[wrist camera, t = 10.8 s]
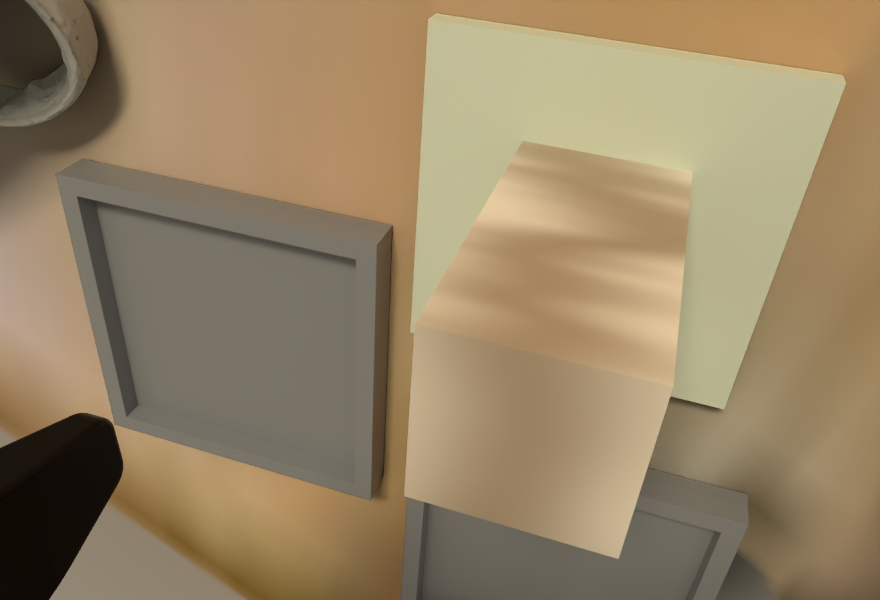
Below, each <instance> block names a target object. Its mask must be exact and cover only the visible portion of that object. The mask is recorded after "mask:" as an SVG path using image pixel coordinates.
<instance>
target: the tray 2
mask: <svg viewBox="0 0 880 600" xmlns="http://www.w3.org/2000/svg"><path fill="white" fill-rule="evenodd" d="M748 525H749V521H748V495H747V494H744V493H740V492H736V491H732V490H729V489H725V488H721V487H717V486H714V485H710V484H706V483H702V482H698V481H695V480H691V479H687V478H683V477H680V476H676V475H672V474H668V473H665V472H661V471H657V470H653V469H650V468H647V471H646V474H645V478H644V481H643V484H642V487H641V490H640V493H639V496H638V500H637V503H636V506H635V509H634V512H633V515H632V518H631V521H630V525H629V528H628V531H627V534H626V537H625V540H624V543H623V547H622V550H621V553H620V556H619V559H617V558H613V557H610V556H606V555H603V554H600V553H596V552H593V551H589V550H586V549H583V548H579V547H576V546H572V545H569V544H566V543H562V542H559V541H555V540H552V539H549V538H545V537H542V536H538V535H535V534H532V533H528V532H525V531H521V530H518V529H515V528H511V527H508V526H504V525H501V524H498V523H494V522H491V521H487V520H484V519H481V518H477V517H474V516H470V515H467V514H464V513H460V512H457V511H453V510H450V509H447V508H443V507H440V506H436V505H433V504H430V503H426V502H423V501H419V500H416V499H413V498H409V497H407V508H406V523H405V539H404V555H403V571H402V586H401V600H715V599H716V596H717V594H718V592H719V590H720V588H721V585H722V583H723V581H724V578H725V576H726V574H727V572H728V570H729V568H730V565H731V563H732V561H733V558H734V557H735V554H736V552H737V550H738V548H739V545H740V543H741V541H742V539H743V537H744V534H745V532H746V530H747V528H748Z"/></svg>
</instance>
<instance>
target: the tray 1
mask: <svg viewBox="0 0 880 600" xmlns="http://www.w3.org/2000/svg"><path fill="white" fill-rule="evenodd" d="M56 178H57V183H58V187H59V191H60V195H61V199H62V204H63V208H64V212H65V216H66V221H67V225H68V229H69V233H70V237H71V242H72V246H73V250H74V254H75V258H76V263H77V267H78V271H79V275H80V279H81V284H82V288H83V292H84V296H85V301H86V305H87V309H88V313H89V317H90V322H91V326H92V330H93V334H94V338H95V343H96V347H97V351H98V355H99V359H100V364H101V368H102V372H103V376H104V380H105V385H106V389H107V393H108V397H109V402H110V406H111V410H112V414H113V418H114V423H115V425H118V426H121V427H125V428H128V429H131V430H135V431H138V432H141V433H145V434H148V435H152V436H155V437H158V438H162V439H165V440H168V441H172V442H175V443H178V444H182V445H185V446H189V447H192V448H195V449H199V450H202V451H205V452H209V453H212V454H215V455H219V456H222V457H226V458H229V459H232V460H236V461H239V462H242V463H246V464H249V465H252V466H256V467H259V468H263V469H266V470H269V471H273V472H276V473H279V474H283V475H286V476H289V477H293V478H296V479H300V480H303V481H306V482H310V483H313V484H316V485H320V486H323V487H326V488H330V489H333V490H337V491H340V492H343V493H347V494H350V495H353V496H357V497H360V498H363V499H367V500H370V501H371V499H372V497H373V495H374V493H375V491H376V489H377V487H378V485H379V483H380V481H381V479H382V477H383V466H384V438H385V411H386V383H387V356H388V328H389V301H390V273H391V246H392V225H388V224H383V223H379V222H374V221H369V220H365V219H360V218H355V217H351V216H346V215H342V214H337V213H332V212H328V211H323V210H318V209H314V208H309V207H304V206H300V205H295V204H290V203H286V202H281V201H276V200H272V199H267V198H263V197H258V196H253V195H249V194H244V193H239V192H235V191H230V190H225V189H221V188H216V187H211V186H207V185H202V184H197V183H193V182H188V181H184V180H179V179H174V178H170V177H165V176H160V175H156V174H151V173H146V172H142V171H137V170H132V169H128V168H123V167H119V166H114V165H109V164H105V163H100V162H95V161H91V160H86V159H81V160H79V161H78V162H76V163H74V164H72V165H71V166H69V167H67V168H65V169H64V170H62V171H60V172H58V173H56Z"/></svg>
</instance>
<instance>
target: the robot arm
mask: <svg viewBox="0 0 880 600" xmlns="http://www.w3.org/2000/svg"><path fill="white" fill-rule="evenodd" d="M122 472H123V459H122V455H121V452H120V448H119V444H118V441H117V437H116V433H115V429H114V426H113V424H112V423H111V422H110V421H109V420H108V419H106V418H103V417H99V416H95V415H92V414H88V413H78V414H74V415H72V416H69V417H67V418H65V419H63V420H61V421H58V422H56V423H54V424H52V425H50V426H47V427H45V428H43V429H41V430H39V431H36V432H34V433H32V434H30V435H28V436H25V437H23V438H21V439H19V440H17V441H14V442H12V443H10V444H8V445H6V446H3V447H1V448H0V600H49V599H50V597H51V596H52V594H53V593H54V591H55V590H56V589H57V587H58V586H59V584H60V583H61V581H62V579H63V578H64V576H65V574H66V573H67V571H68V570H69V568H70V566H71V565H72V563H73V561H74V559H75V558H76V556H77V554H78V552H79V551H80V549H81V547H82V545H83V544H84V542H85V540H86V539H87V536H88V535H89V533H90V531H91V530H92V528H93V526H94V524H95V523H96V521H97V519H98V518H99V516H100V514H101V512H102V511H103V509H104V507H105V506H106V504H107V502H108V500H109V499H110V497H111V495H112V493H113V492H114V490H115V488H116V486H117V485H118V483H119V481H120V478H121V476H122Z"/></svg>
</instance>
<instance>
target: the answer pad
mask: <svg viewBox="0 0 880 600" xmlns="http://www.w3.org/2000/svg"><path fill="white" fill-rule="evenodd" d="M845 85H846V82H845V80H844V77H843V75H840V74H833V73H827V72H820V71H814V70H807V69H800V68H794V67H787V66H781V65H774V64H767V63H761V62H754V61H748V60H741V59H734V58H728V57H721V56H715V55H708V54H701V53H695V52H688V51H682V50H675V49H668V48H662V47H655V46H649V45H642V44H635V43H629V42H622V41H616V40H609V39H602V38H596V37H589V36H583V35H576V34H569V33H563V32H556V31H550V30H543V29H536V28H530V27H523V26H517V25H510V24H503V23H497V22H490V21H484V20H477V19H470V18H464V17H457V16H450V15H444V14H437V13H436V14H435V15H433V16H432V17H431V18H429V19H428V32H427V50H426V68H425V85H424V103H423V120H422V138H421V156H420V173H419V191H418V208H417V226H416V243H415V261H414V279H413V296H412V314H411V331H410V333H414V330H415V323H416V321H417V319H418V318H419V316H420V314H421V313H422V311H423V309H424V308H425V306H426V304H427V303H428V301H429V299H430V297H431V296H432V294H433V292H434V291H435V289H436V287H437V286H438V284H439V282H440V280H441V279H442V277H443V275H444V274H445V272H446V270H447V269H448V267H449V265H450V263H451V262H452V260H453V258H454V257H455V255H456V253H457V252H458V250H459V248H460V247H461V245H462V243H463V241H464V240H465V238H466V236H467V235H468V233H469V231H470V230H471V228H472V226H473V224H474V223H475V221H476V219H477V218H478V216H479V214H480V213H481V211H482V209H483V208H484V206H485V204H486V202H487V201H488V199H489V197H490V196H491V194H492V192H493V191H494V189H495V187H496V185H497V184H498V182H499V180H500V179H501V177H502V175H503V174H504V172H505V170H506V169H507V167H508V165H509V163H510V162H511V160H512V158H513V157H514V155H515V153H516V152H517V150H518V148H519V146H520V145H521V143H522V141H526V142H532V143H537V144H543V145H548V146H553V147H559V148H564V149H570V150H575V151H580V152H586V153H591V154H597V155H602V156H607V157H613V158H618V159H624V160H629V161H634V162H640V163H645V164H651V165H656V166H661V167H667V168H672V169H678V170H683V171H689V172H693V174H692V186H691V197H690V208H689V219H688V230H687V241H686V252H685V263H684V275H683V286H682V297H681V308H680V319H679V330H678V341H677V353H676V364H675V375H674V386H673V390H672V393H671V397H675V398H679V399H683V400H688V401H692V402H696V403H700V404H704V405H708V406H712V407H716V408H720V409H724V408H725V405H726V403H727V400H728V397H729V395H730V392H731V389H732V387H733V384H734V381H735V379H736V376H737V373H738V371H739V368H740V365H741V363H742V360H743V357H744V355H745V352H746V349H747V347H748V344H749V341H750V339H751V336H752V333H753V331H754V328H755V325H756V323H757V320H758V317H759V315H760V312H761V309H762V307H763V304H764V301H765V299H766V296H767V293H768V291H769V288H770V285H771V283H772V280H773V277H774V275H775V272H776V269H777V267H778V264H779V261H780V259H781V256H782V253H783V251H784V248H785V245H786V243H787V240H788V237H789V235H790V232H791V229H792V227H793V224H794V221H795V219H796V216H797V213H798V211H799V208H800V205H801V203H802V200H803V197H804V195H805V192H806V189H807V187H808V184H809V181H810V179H811V176H812V173H813V170H814V168H815V165H816V162H817V160H818V157H819V154H820V152H821V149H822V146H823V144H824V141H825V138H826V136H827V133H828V130H829V128H830V125H831V122H832V120H833V117H834V114H835V112H836V109H837V106H838V104H839V101H840V98H841V96H842V93H843V90H844V88H845Z"/></svg>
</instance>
